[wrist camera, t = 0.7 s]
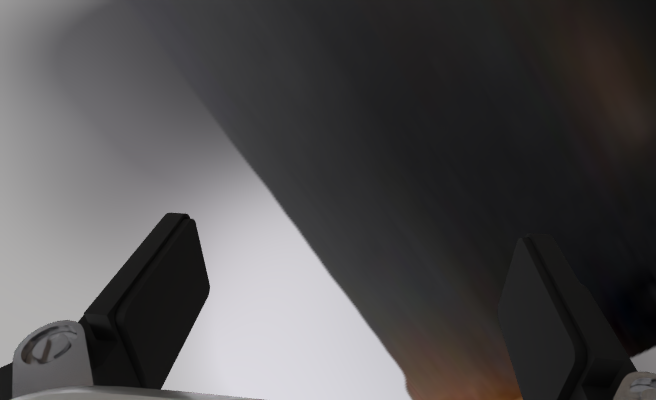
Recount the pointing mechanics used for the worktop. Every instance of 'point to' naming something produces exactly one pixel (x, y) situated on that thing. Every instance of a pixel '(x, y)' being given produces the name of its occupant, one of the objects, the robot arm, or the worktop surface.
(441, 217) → the worktop surface
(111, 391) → the robot arm
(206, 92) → the worktop surface
